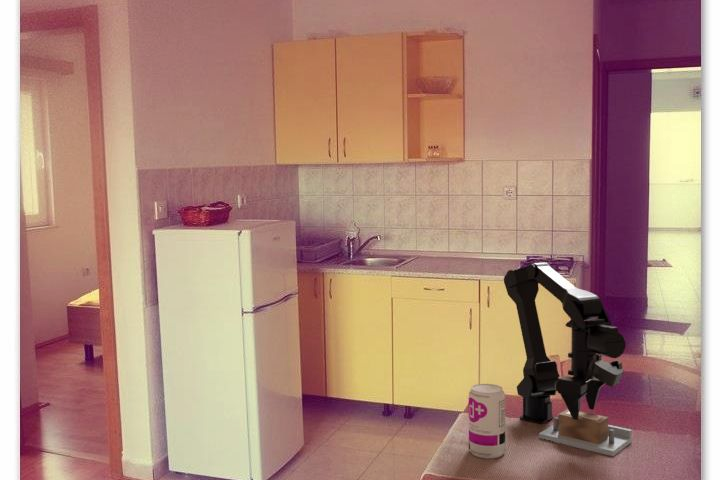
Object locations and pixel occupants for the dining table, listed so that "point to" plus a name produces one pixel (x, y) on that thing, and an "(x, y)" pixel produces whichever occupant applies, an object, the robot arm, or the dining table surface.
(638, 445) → the dining table surface
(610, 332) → the robot arm
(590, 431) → the brown wooden block
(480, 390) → the supplement can
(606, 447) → the ledge
